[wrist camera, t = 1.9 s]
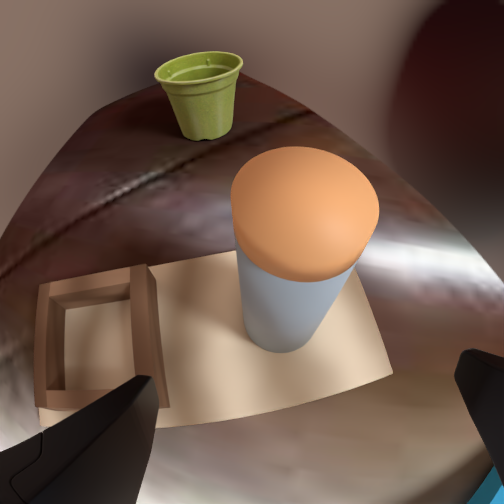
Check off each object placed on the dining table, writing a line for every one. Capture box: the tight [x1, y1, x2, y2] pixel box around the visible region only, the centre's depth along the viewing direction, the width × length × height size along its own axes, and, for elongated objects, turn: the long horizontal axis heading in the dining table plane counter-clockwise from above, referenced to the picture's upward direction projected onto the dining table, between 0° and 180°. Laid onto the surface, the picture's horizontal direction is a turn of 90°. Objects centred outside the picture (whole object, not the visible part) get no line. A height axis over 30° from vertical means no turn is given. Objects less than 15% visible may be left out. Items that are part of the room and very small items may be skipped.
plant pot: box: [155, 52, 243, 141], centre depth 30 cm, size 9×9×9 cm
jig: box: [34, 250, 393, 428], centre depth 18 cm, size 26×12×4 cm, turn 102°
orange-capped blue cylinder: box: [231, 147, 379, 353], centre depth 15 cm, size 5×5×12 cm
